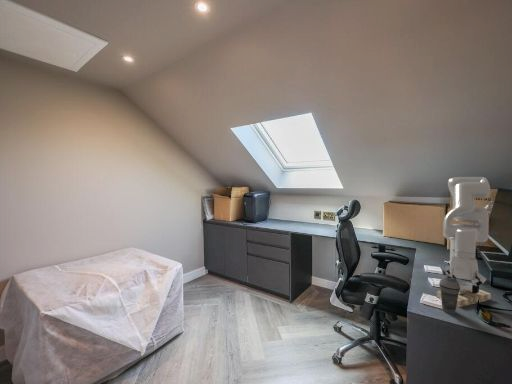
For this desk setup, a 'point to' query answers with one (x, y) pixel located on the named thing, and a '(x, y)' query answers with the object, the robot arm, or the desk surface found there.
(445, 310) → the beverage cup
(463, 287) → the clip
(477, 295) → the slatted wooden pallet
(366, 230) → the desk surface
